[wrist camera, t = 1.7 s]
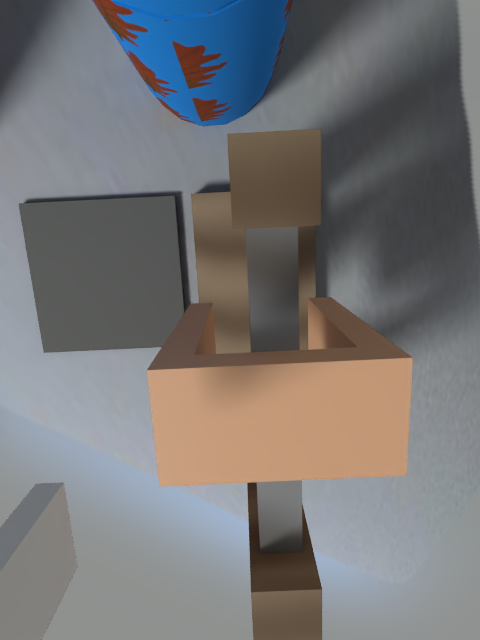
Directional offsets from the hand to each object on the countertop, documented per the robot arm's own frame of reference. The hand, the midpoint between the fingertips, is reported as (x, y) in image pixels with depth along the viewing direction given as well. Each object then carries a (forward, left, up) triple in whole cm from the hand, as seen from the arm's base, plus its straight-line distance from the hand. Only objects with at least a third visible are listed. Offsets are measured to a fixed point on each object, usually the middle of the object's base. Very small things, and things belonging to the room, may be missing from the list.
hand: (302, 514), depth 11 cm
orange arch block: (0, 0, -18) cm, 18 cm away
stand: (0, 0, -25) cm, 25 cm away
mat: (-4, -13, -25) cm, 29 cm away
